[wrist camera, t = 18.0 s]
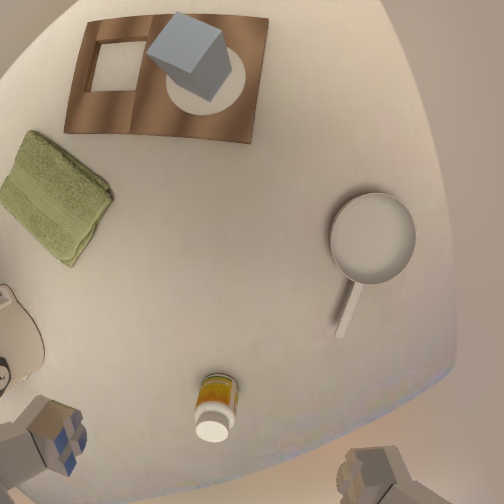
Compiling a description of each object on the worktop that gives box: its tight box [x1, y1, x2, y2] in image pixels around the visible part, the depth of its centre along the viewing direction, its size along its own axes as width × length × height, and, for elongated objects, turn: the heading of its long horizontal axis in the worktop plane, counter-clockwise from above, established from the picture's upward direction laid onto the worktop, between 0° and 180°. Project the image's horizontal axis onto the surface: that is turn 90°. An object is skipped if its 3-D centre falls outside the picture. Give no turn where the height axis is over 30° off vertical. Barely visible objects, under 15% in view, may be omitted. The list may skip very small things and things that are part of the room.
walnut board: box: [64, 14, 269, 144], centre depth 33 cm, size 24×16×2 cm, turn 82°
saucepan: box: [330, 193, 417, 339], centre depth 37 cm, size 11×18×4 cm, turn 164°
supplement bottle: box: [194, 374, 238, 442], centre depth 39 cm, size 5×5×10 cm
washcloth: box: [0, 130, 112, 267], centre depth 36 cm, size 13×18×3 cm
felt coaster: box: [166, 47, 246, 116], centre depth 32 cm, size 9×9×1 cm
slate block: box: [146, 12, 232, 102], centre depth 26 cm, size 4×4×11 cm
